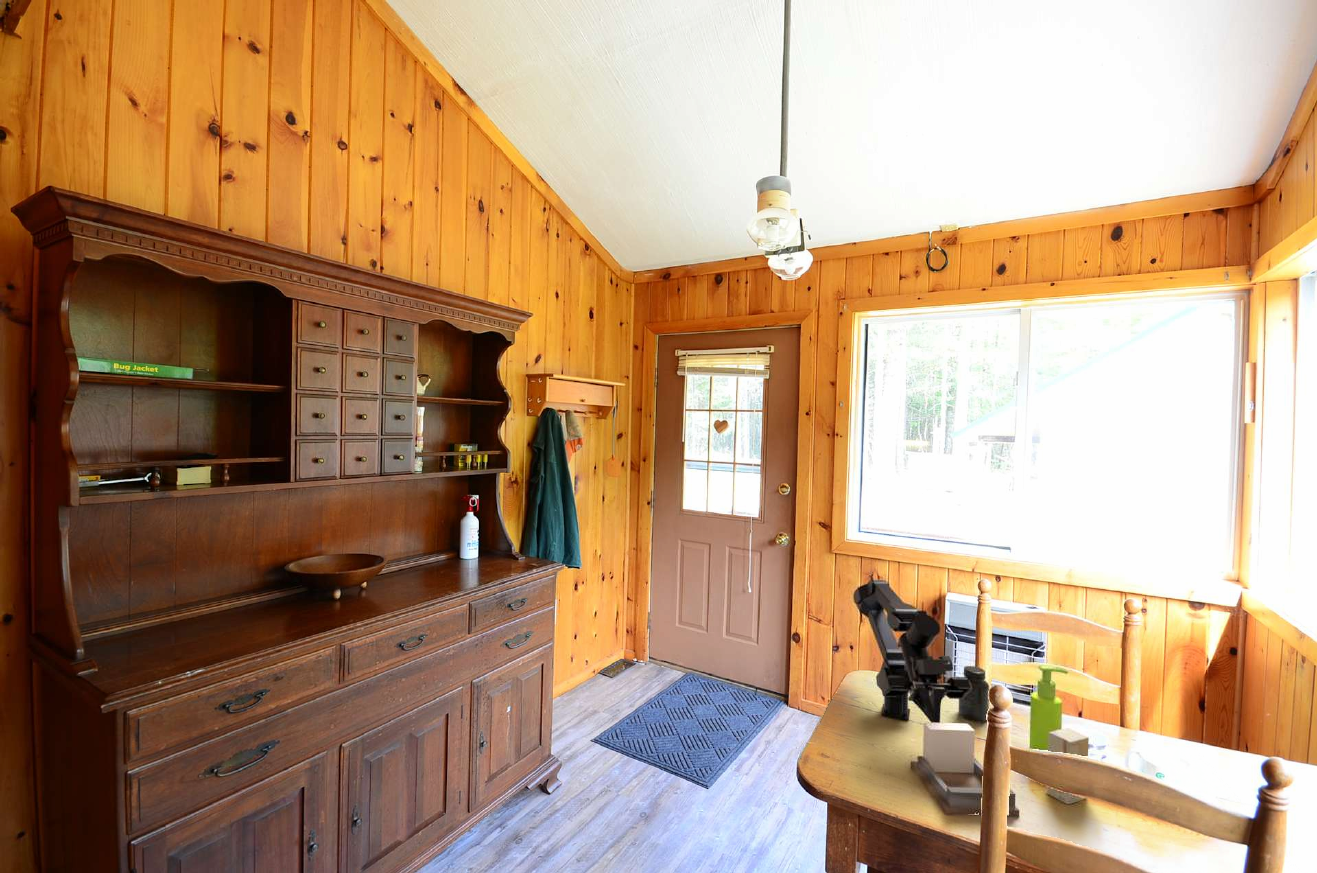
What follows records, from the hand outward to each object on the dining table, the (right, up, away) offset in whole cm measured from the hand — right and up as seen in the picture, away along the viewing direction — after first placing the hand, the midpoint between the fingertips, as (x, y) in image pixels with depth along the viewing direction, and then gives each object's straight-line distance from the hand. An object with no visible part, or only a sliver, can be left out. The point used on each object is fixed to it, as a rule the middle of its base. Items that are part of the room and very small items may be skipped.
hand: (937, 726), depth 129 cm
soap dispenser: (+26, -9, +3) cm, 28 cm away
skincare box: (+20, -8, -12) cm, 25 cm away
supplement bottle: (+20, -9, +22) cm, 31 cm away
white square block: (0, -6, -5) cm, 8 cm away
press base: (0, -8, -11) cm, 13 cm away
